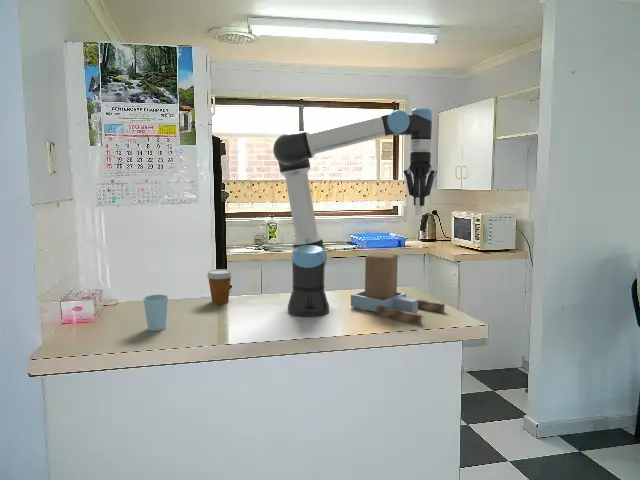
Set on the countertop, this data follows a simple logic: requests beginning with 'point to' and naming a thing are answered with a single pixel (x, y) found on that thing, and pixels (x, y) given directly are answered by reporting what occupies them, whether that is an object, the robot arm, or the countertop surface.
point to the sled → (384, 302)
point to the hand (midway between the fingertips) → (418, 214)
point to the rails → (408, 315)
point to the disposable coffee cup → (219, 285)
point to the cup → (156, 311)
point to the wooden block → (381, 275)
